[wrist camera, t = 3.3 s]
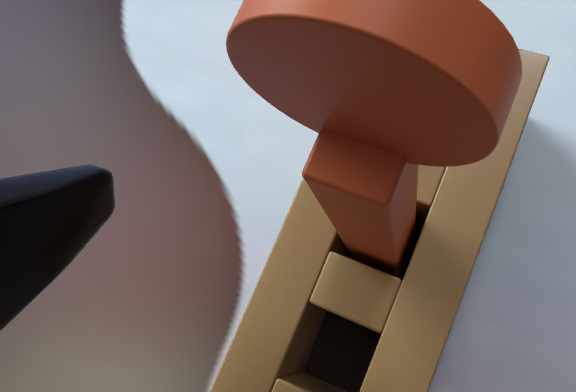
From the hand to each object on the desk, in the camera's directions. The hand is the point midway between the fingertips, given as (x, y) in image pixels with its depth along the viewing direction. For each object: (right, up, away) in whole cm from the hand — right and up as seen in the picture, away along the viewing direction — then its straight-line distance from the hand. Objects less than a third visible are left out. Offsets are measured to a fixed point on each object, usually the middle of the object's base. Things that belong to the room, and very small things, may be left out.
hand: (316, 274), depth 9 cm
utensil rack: (+3, -1, +10) cm, 10 cm away
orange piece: (+3, -1, +10) cm, 10 cm away
